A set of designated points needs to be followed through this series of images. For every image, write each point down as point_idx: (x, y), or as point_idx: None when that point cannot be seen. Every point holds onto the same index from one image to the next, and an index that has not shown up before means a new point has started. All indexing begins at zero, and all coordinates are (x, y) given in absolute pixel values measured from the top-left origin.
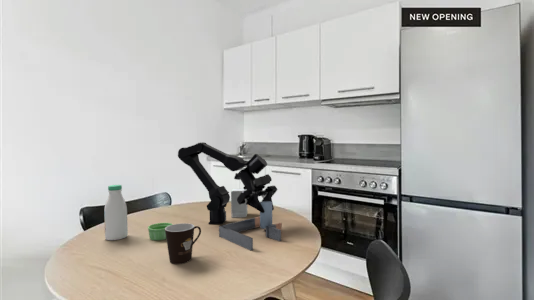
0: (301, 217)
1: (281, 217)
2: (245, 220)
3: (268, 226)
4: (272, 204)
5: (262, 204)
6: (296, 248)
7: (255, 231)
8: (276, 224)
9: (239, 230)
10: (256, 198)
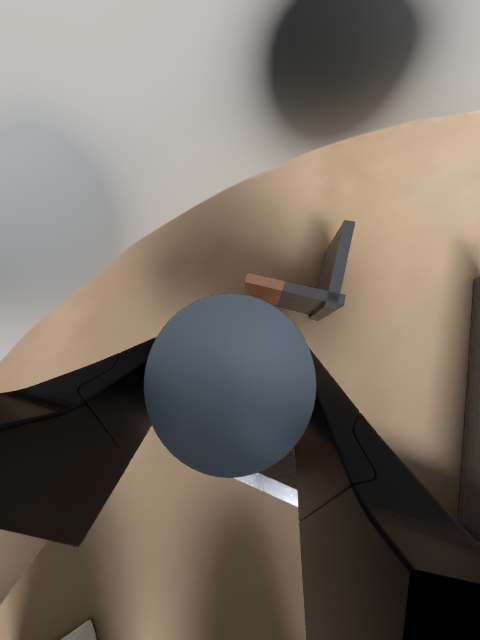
0: (34, 327)
1: None
2: None
3: (336, 292)
4: None
5: (311, 375)
6: (354, 184)
7: None
8: (280, 280)
9: None
10: (469, 565)
